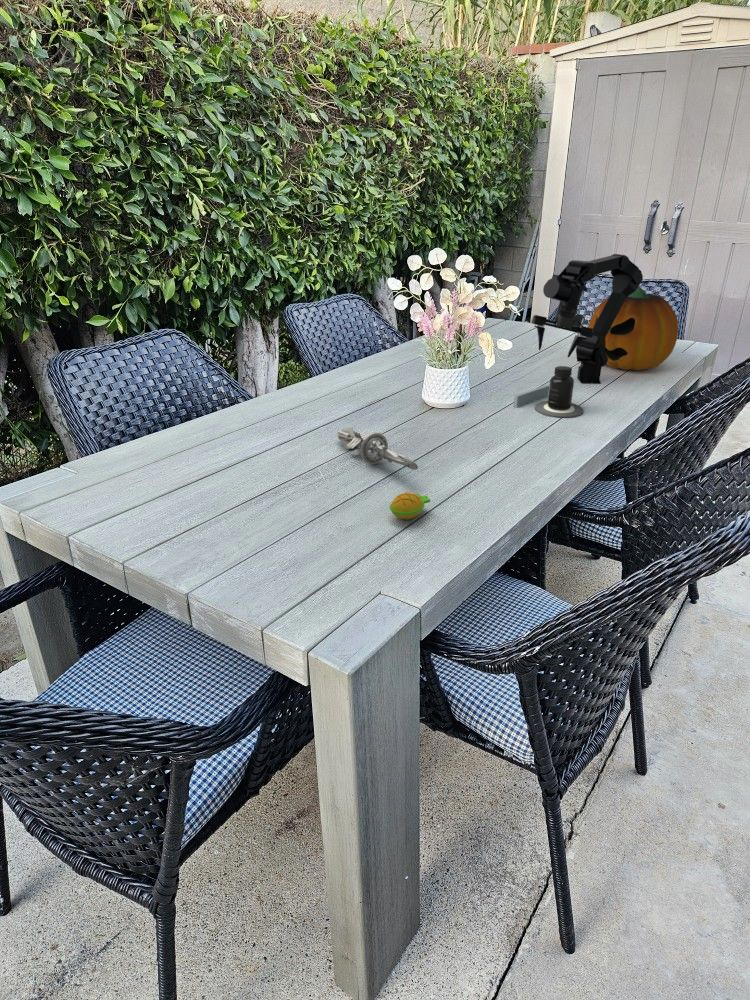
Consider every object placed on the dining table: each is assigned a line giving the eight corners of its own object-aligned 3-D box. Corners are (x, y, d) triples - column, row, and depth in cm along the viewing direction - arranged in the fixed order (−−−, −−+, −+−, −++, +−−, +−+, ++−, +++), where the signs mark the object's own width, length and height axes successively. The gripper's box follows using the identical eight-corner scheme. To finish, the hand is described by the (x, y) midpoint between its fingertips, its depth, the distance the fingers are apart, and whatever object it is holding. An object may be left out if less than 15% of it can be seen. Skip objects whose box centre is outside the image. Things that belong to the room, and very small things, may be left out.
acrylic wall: (544, 395, 216) (546, 384, 214) (548, 396, 215) (549, 385, 213) (513, 406, 206) (514, 395, 205) (516, 407, 206) (517, 396, 204)
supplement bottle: (559, 402, 208) (564, 363, 202) (575, 408, 203) (581, 369, 197) (542, 405, 205) (546, 366, 199) (558, 412, 199) (563, 372, 194)
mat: (577, 402, 210) (577, 400, 209) (588, 418, 197) (588, 416, 197) (531, 401, 210) (531, 399, 210) (539, 417, 198) (539, 415, 197)
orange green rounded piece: (382, 519, 142) (382, 496, 139) (408, 502, 149) (409, 480, 147) (410, 529, 138) (411, 505, 136) (435, 510, 146) (436, 488, 143)
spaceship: (398, 462, 149) (424, 442, 151) (320, 429, 176) (344, 413, 179) (410, 490, 153) (436, 470, 156) (332, 454, 181) (355, 438, 183)
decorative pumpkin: (566, 359, 254) (577, 276, 241) (627, 351, 265) (641, 271, 252) (623, 381, 230) (639, 289, 216) (688, 371, 241) (707, 283, 228)
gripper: (541, 296, 203) (526, 348, 208) (603, 310, 202) (586, 363, 206) (538, 296, 214) (524, 346, 218) (597, 310, 212) (581, 360, 217)
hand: (553, 353), depth 215 cm, fingers open, 9 cm apart
